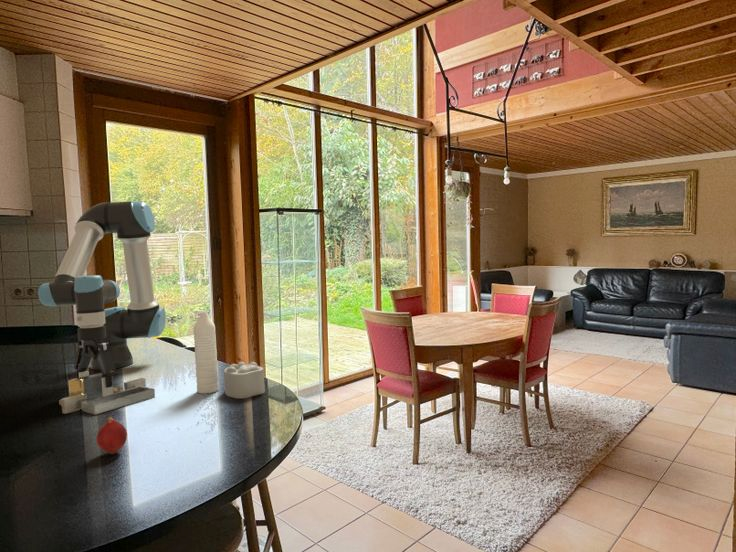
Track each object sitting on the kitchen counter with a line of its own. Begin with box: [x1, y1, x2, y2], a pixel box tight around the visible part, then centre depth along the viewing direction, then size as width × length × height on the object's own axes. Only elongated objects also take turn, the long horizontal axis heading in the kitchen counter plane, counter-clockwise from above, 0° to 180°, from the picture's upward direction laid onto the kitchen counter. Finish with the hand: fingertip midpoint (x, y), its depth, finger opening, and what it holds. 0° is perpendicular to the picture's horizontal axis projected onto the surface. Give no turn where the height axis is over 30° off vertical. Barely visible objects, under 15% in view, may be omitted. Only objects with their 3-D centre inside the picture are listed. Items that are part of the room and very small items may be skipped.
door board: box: [58, 377, 156, 416], centre depth 144 cm, size 24×19×4 cm
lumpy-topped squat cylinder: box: [223, 361, 266, 400], centre depth 149 cm, size 10×13×9 cm
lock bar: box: [67, 372, 115, 400], centre depth 147 cm, size 12×4×7 cm, turn 147°
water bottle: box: [193, 309, 220, 395], centre depth 151 cm, size 9×6×25 cm
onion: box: [96, 417, 128, 455], centre depth 105 cm, size 6×6×8 cm
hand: (96, 395), depth 148 cm, fingers open, 13 cm apart
